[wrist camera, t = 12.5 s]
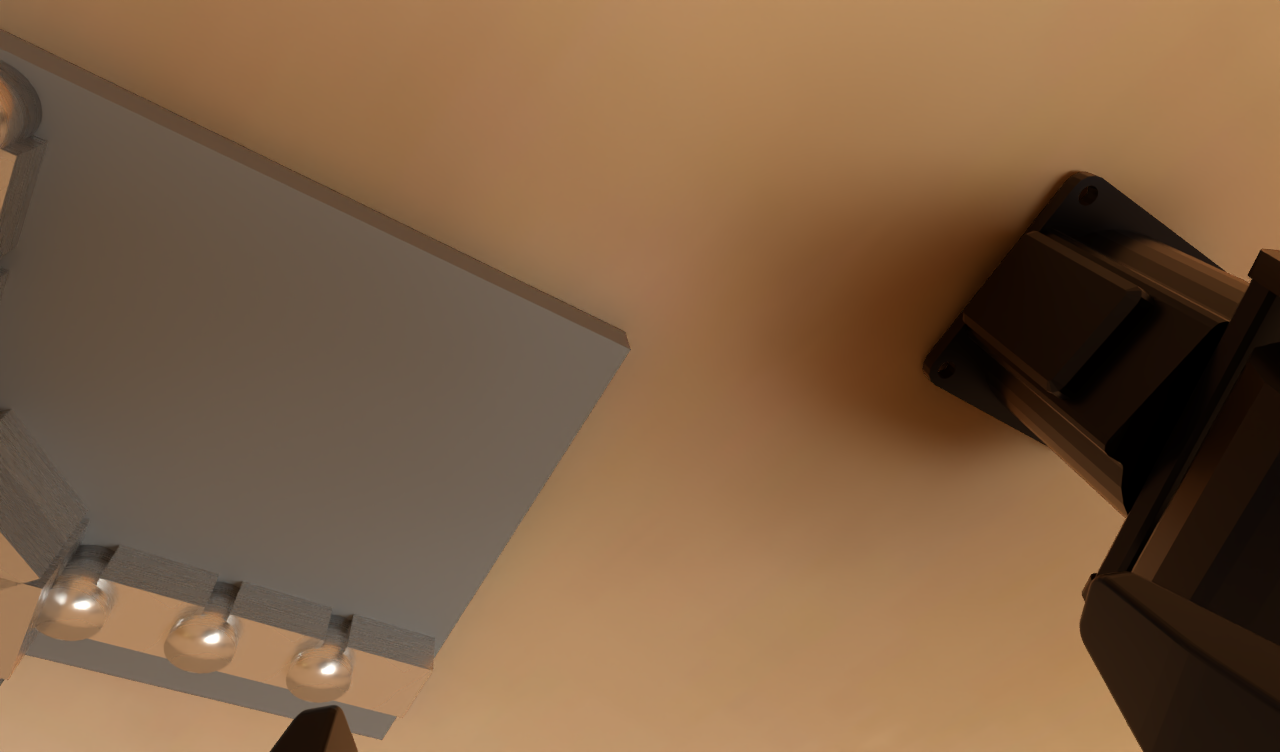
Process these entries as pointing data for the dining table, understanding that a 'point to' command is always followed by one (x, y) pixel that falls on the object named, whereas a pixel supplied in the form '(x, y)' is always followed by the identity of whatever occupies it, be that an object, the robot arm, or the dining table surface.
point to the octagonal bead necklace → (148, 584)
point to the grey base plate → (273, 377)
